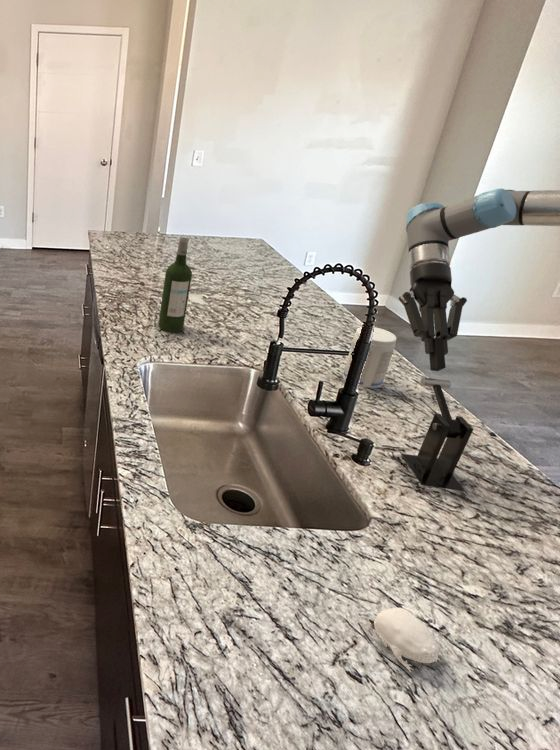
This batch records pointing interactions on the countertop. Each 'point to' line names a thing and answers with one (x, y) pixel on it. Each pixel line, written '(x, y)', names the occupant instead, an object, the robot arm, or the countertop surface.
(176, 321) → the wine bottle
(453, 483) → the bracket
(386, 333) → the supplement tub
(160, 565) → the countertop surface
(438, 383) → the tap lever
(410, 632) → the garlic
